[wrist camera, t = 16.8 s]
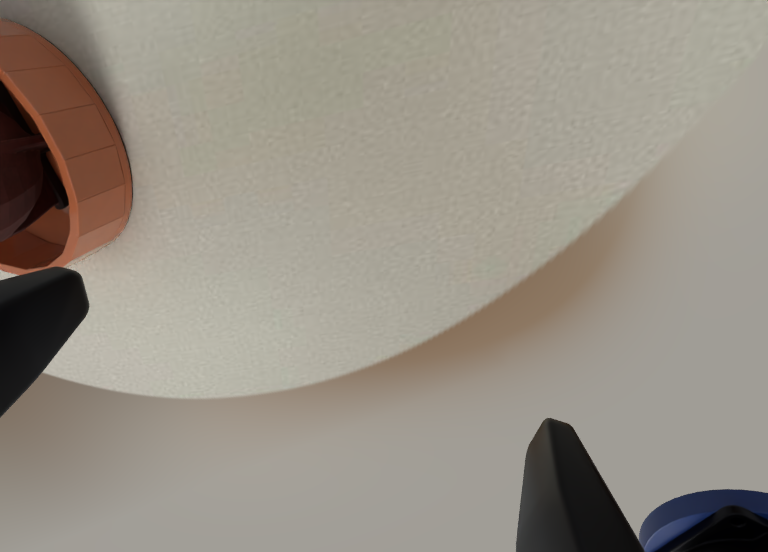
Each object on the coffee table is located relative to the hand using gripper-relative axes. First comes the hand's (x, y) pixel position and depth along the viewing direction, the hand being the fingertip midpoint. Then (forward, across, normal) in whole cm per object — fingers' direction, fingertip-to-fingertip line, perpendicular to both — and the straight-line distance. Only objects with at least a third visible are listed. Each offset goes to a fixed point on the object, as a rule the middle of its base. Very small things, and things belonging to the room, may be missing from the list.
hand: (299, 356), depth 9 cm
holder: (+12, +19, +5) cm, 23 cm away
